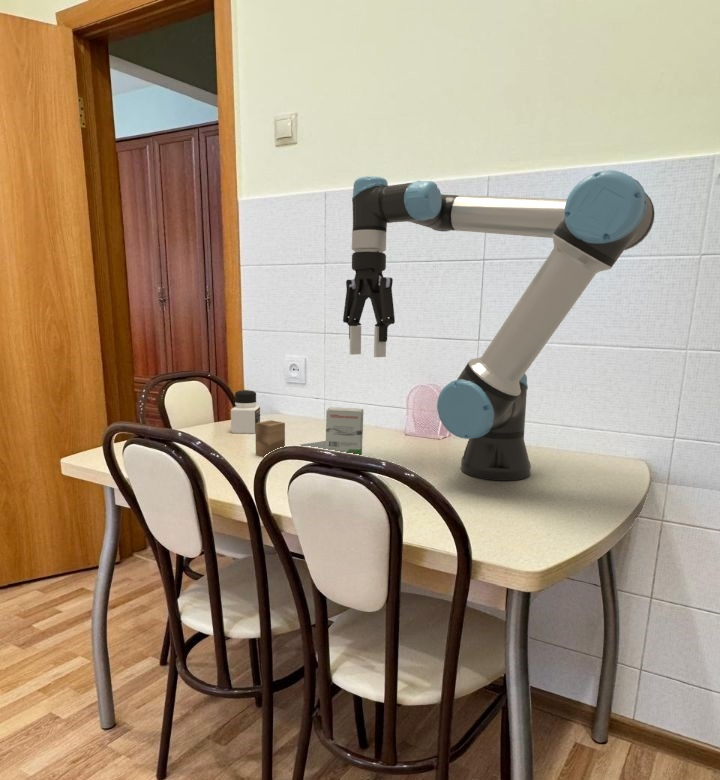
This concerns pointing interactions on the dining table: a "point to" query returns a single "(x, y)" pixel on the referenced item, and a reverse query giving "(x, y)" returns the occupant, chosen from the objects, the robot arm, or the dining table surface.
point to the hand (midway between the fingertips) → (367, 355)
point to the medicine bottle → (245, 412)
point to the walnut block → (269, 436)
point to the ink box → (344, 429)
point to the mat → (316, 444)
